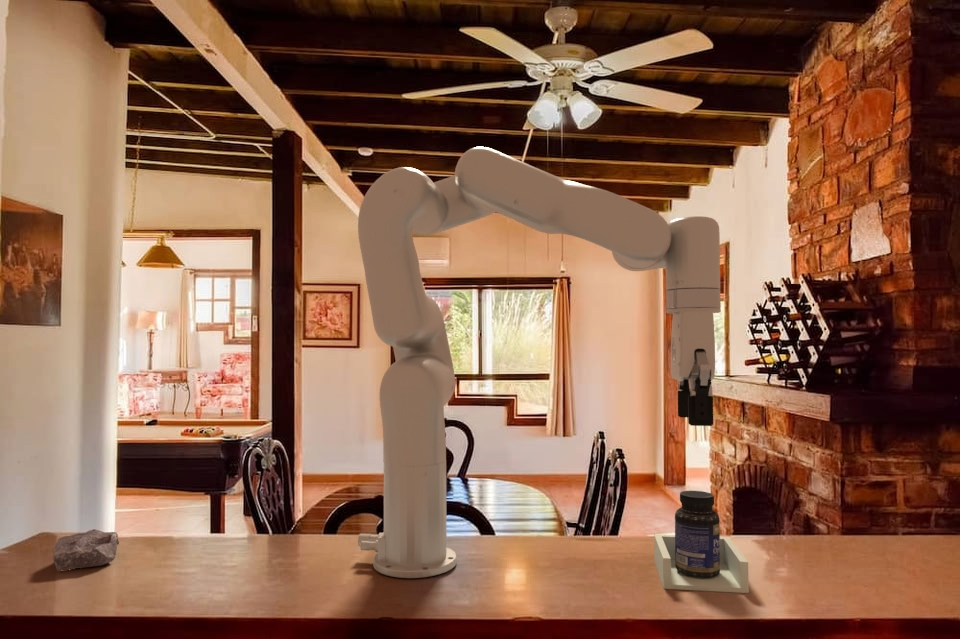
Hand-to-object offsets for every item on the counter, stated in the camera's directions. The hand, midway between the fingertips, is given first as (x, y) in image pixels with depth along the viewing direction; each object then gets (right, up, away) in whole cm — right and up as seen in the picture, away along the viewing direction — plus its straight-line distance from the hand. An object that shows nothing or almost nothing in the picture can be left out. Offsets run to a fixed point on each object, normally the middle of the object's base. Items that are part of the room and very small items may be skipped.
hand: (694, 421), depth 92 cm
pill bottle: (0, -22, -1) cm, 22 cm away
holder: (0, -22, -1) cm, 22 cm away
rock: (-92, -23, +7) cm, 95 cm away
